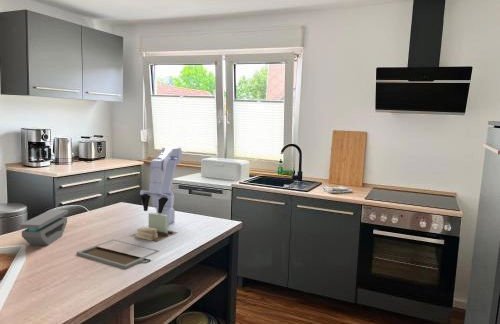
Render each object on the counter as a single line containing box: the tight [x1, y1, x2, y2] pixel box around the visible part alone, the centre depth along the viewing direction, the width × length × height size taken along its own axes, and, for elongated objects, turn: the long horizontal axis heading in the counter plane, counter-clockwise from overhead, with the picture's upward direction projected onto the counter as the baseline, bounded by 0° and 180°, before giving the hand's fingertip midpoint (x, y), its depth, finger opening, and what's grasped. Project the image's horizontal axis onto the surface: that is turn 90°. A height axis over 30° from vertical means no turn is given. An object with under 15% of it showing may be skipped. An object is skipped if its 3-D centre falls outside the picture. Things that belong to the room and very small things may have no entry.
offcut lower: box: [134, 231, 158, 241], centre depth 175 cm, size 5×9×2 cm, turn 64°
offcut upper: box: [137, 226, 157, 235], centre depth 174 cm, size 4×8×2 cm, turn 70°
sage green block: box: [148, 211, 169, 233], centre depth 182 cm, size 2×10×9 cm, turn 64°
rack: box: [129, 229, 179, 243], centre depth 180 cm, size 16×16×2 cm
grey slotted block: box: [19, 208, 69, 246], centre depth 169 cm, size 25×8×11 cm, turn 0°
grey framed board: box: [76, 239, 160, 270], centre depth 156 cm, size 19×2×30 cm
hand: (152, 211), depth 179 cm, fingers open, 7 cm apart
